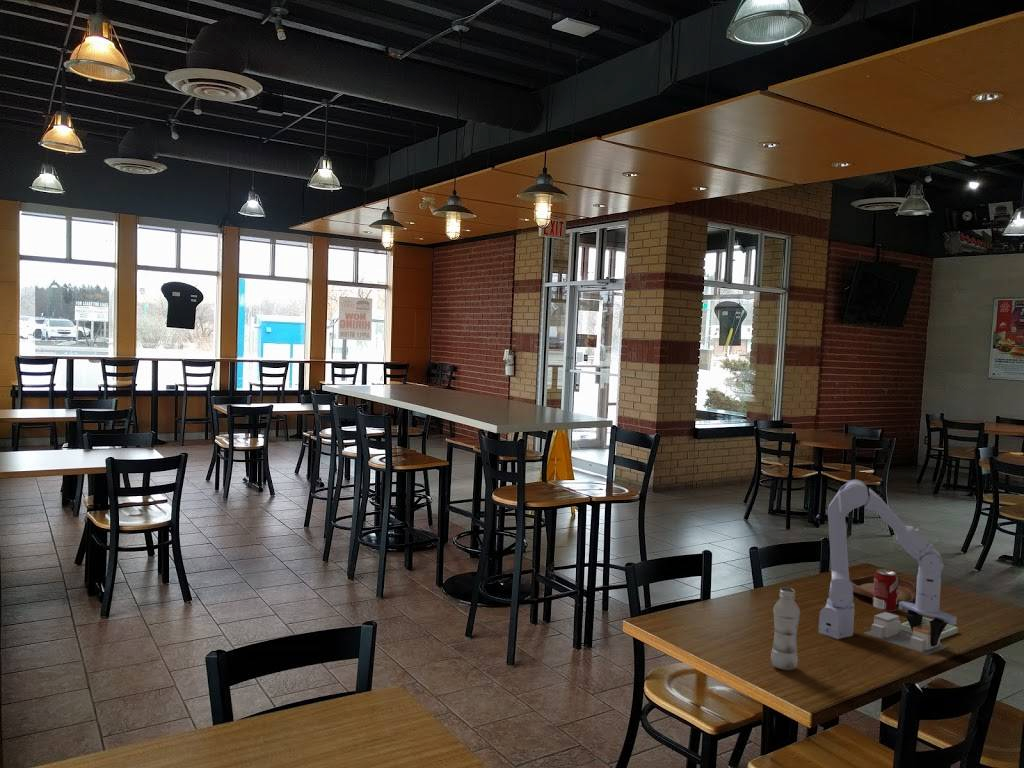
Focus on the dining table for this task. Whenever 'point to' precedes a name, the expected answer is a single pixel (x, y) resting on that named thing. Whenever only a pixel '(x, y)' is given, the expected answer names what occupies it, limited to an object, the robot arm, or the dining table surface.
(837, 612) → the robot arm
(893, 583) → the soda can
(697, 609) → the dining table surface
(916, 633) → the block
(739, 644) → the dining table surface
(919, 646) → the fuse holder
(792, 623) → the plastic bottle
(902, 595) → the basket
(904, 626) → the tray
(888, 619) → the block
